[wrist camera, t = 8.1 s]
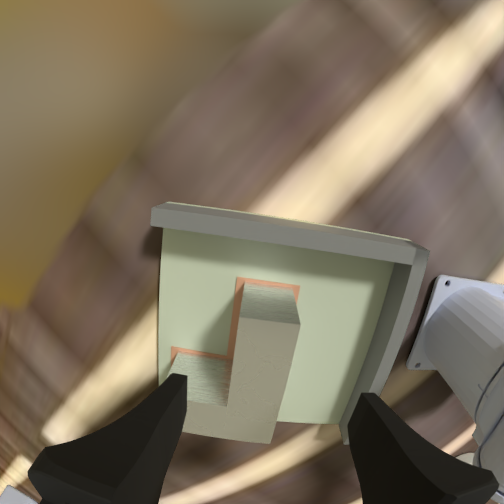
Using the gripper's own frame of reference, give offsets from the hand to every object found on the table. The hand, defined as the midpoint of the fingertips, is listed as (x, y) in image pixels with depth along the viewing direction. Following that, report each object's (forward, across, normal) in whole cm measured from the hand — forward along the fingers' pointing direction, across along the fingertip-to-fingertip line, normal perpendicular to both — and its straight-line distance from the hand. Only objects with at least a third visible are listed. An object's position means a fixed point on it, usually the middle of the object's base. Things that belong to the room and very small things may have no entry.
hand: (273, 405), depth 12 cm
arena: (+10, 0, +2) cm, 10 cm away
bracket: (+9, +2, +3) cm, 10 cm away
